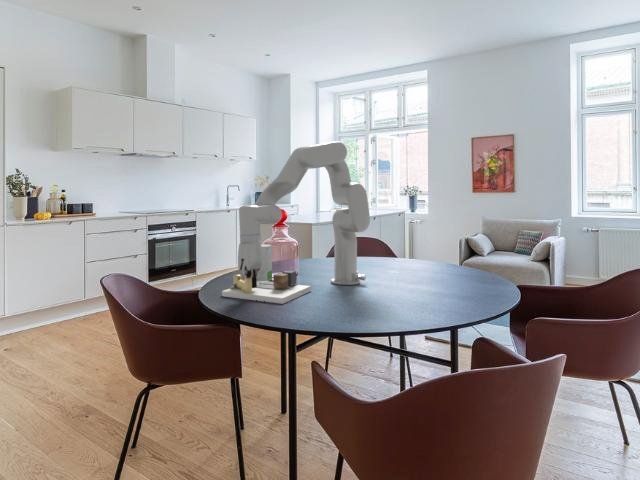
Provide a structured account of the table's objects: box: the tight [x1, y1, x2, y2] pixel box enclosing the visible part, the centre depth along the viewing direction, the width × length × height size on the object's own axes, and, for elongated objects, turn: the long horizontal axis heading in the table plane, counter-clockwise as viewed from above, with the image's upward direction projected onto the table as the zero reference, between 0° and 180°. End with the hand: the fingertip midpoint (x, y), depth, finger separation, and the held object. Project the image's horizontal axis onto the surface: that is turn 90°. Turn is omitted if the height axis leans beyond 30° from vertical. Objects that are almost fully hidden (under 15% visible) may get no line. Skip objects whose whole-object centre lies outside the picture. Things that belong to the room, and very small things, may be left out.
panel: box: [221, 281, 312, 305], centre depth 179 cm, size 27×22×2 cm
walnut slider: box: [272, 272, 288, 289], centre depth 177 cm, size 4×4×5 cm
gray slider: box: [281, 270, 297, 286], centre depth 183 cm, size 4×4×5 cm
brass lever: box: [232, 273, 252, 293], centre depth 175 cm, size 14×3×5 cm, turn 31°
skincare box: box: [256, 244, 273, 282], centre depth 202 cm, size 8×7×16 cm
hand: (252, 287), depth 175 cm, fingers closed
